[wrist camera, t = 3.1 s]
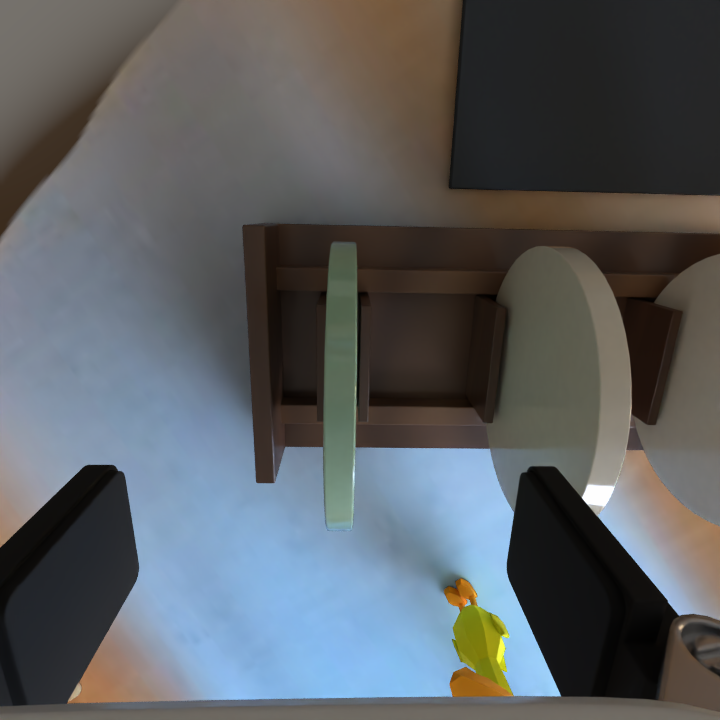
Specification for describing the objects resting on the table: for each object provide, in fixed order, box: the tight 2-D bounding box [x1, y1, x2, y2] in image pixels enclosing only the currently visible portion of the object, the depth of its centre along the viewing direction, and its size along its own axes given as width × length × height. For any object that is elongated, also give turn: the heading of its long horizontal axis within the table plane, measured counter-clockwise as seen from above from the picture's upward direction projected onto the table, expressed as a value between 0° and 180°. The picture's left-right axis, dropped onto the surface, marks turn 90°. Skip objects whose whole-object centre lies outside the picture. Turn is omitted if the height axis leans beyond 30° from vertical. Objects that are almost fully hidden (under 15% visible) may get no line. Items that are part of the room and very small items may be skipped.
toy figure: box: [444, 578, 514, 697], centre depth 27 cm, size 7×4×12 cm, turn 43°
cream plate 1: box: [486, 246, 632, 516], centre depth 20 cm, size 1×12×12 cm, turn 179°
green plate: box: [323, 241, 357, 531], centre depth 20 cm, size 1×12×12 cm, turn 178°
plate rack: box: [242, 223, 720, 483], centre depth 25 cm, size 26×13×5 cm, turn 89°
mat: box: [449, 0, 720, 195], centre depth 22 cm, size 20×16×1 cm
